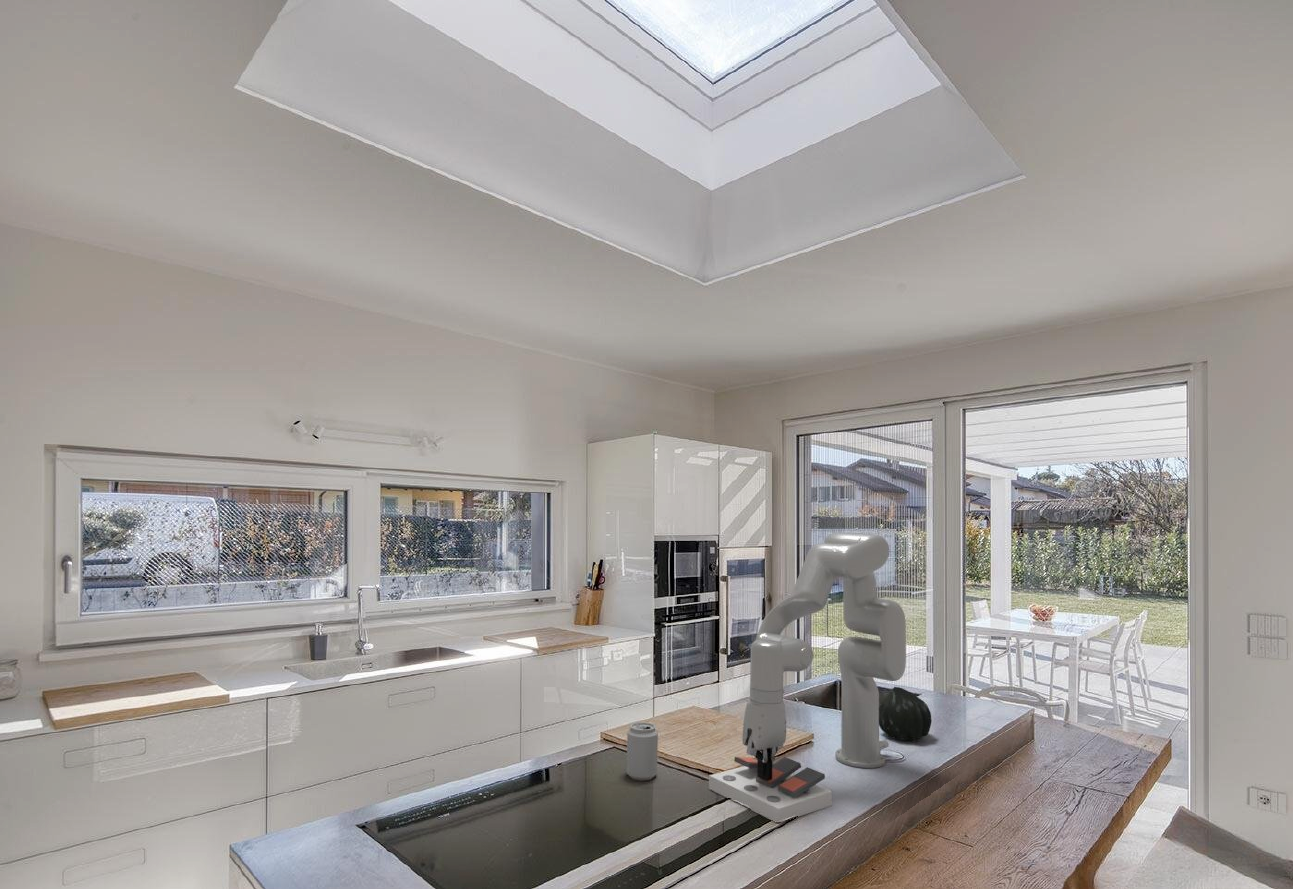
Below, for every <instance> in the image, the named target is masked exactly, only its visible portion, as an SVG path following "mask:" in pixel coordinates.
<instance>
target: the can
mask: <svg viewBox="0 0 1293 889" xmlns="http://www.w3.org/2000/svg"><path fill="white" fill-rule="evenodd" d="M629 726H630V728H628V731H627V734H626V735H627V736H626V738H627V740H626V769H625V770H626V771H625V772H626V774H627V775H628V776H629V777H630V778H631V779H633V780H637V781H649V780H652V779H654V777H655V776H656V775H657V774H658V752H659V751H658V749H659V748H658V747H659V746H658V745H659V732H658V730H657V729H656V725H655V724H653V723H652V722H646V721H645V722H644V721H640V722H633V723H631V724H630V725H629Z"/></svg>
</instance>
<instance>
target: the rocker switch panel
mask: <svg viewBox="0 0 1293 889" xmlns="http://www.w3.org/2000/svg"><path fill="white" fill-rule="evenodd" d="M794 775H795V774H793V773H792V774H791V775H790V776H788V777H787V778H785V779H784V780H783V781H781V782H780V783H779V784H781V783H782V782H784V781H786V780H787V779H789V778H791V777H792V776H794ZM756 776H757V768H748V767H746V766H744V765H742V766H739V767H737V768H736V767H735V768H733V769H729V770H724V771H722V772H721V771H720V772H718V773H713V774H710V775H708V789H709V790H710V791H713V792H715V793H716V794H719V795H720V796H723V797H725V798H727V799H728V798H731V799H733V800H737V801H739V802H741V803H743V804H746V805H748V806H749V807H750V809H751V811H752V812H754V813H756V814H758V815H761V816H762V817H764V818H766V819H768V820H770V821H772V820H774V821H780V820H782V819H785V818H789V817H792V816H794V815H795V816H798V817H802V816H805V815H807V814H810V813H813V812H817V811H818V810H822V809H825V808H829V807H831V806H832V805H833V799H832V798H833V796H832V795H833V792H832V790H829V789H827V788H824V787H822V786H820V785H817V784H815V785H814V786H812V787H811V788H809V789H808V790H806V791H804V792H803V793H801V794H800V795H798V796H797V797H793V796H791V795H788V794H786V793H784V792H782V791H780V790H778V786H777V785H779V784H777V785H776V786H774V787H773V788H770V787H768V786H766V785H764V784H761V783H759V782H757V781H756V778H755V777H756ZM750 809H749V810H750ZM798 817H797V818H798ZM774 821H773V822H774Z"/></svg>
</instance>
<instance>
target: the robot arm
mask: <svg viewBox="0 0 1293 889" xmlns="http://www.w3.org/2000/svg"><path fill="white" fill-rule="evenodd" d="M888 543H889V542H888V541H887V540H886V539H885V537H883V536H882V535H880V534H873V533H859V532H858V533H857V532H846V531H845V532H833V533H830V534H828V535H827V536H826V537H825V538H824V542H823V543H817V544H814V545H812V546H811V547H810V548H809V550H808V552H807V555H806V557H805V559H804V562H803V564H802V566H801V569H800V572H799V574H798V577H797V579H796V581H795V584H794V587H793V590H792V591H791V593H790V594H789V595H787V596H786V597H785V598H784V599H782V600H780V601H779V602H778V603H777V604H776V605H775V606H773V608H771V609H770V610H769V612H767V614H766V615H765V616H764V618H763V620H762V621H761V622H762V623H761V625H760V627H759V629H758V632H757V635H756V637H755V640H754V641H753V642H751V645H750V671H749V672H750V675H749V683H750V684H749V701H747V702H746V705H745V706H746V707H745V710H744V716H743V725H742V745H743V746H746V747H747V748H746V754H747V755H749V756H751V757H752V756H753V757H754V758H756V759H757V760H758V763H757V776H758V777H759V778H761V779H763V780H765V781H768V780H772V768H773V762H774V761H775V760H776V754H777V753H778V751H780V750H782V749H783V748H784V744H785V743H786V740H787V715H786V706H785V702H784V693H785V690H784V673H785V672H792V673H794V672H795V673H797V672H798V673H799V672H802V671H804V670H807V669H808V668H809V667H810V666H811V664H812V662H813V659H814V652H813V649H812V646H811V645H810V643H808V641H807V642H806V641H805V640H803V639H800V638H796V637H791V636H787V635H782V632H783V631H784V630H785V628H786V627H787V626H789V624H791V623H792V622H793V621H796V620H798V619H800V618H803V617H807V616H809V615H810V616H811V615H813V614H815V613H818V612H820V611H822V610H823V609H824V608H825V607H826V604H827V602H828V599H829V596H830V593H831V591H832V588H833V586H834V583H835V581H836V579H842V585H843V586H842V588H843V589H842V590H843V592H842V593H843V595H842V596H843V601H842V602H843V622H844V625H845V626H846V628H847V629H848V630H850V631H852V632H856V633H860V634H865V635H871V636H876V637H879V639H880V640H878V639H873V638H866V637H862V636H861V637H860V636H849V637H846V638H845V639H843V640H841V642H840V644H839V646H838V648H837V659H838V666H839V670H840V679H841V682H840V683H841V731H840V732H841V736H840V737H841V744H840V746H841V748H839V749H837V750H836V751H835V758H836V760H837V761H839V762H840V763H842V764H844V765H847V766H852V767H854V768H855V767H856V768H863V769H866V768H867V769H874V768H879V767H880V768H881V767H882V766H884V765H885V763H886V757H885V756H884V754H882V753H881V752H882V750H883V749H887V748H888V747H889V744H890V743H889V742H888V740H886V739H884V740H881V741H880V726H879V707H880V693H879V688H878V685H877V684H876V681H875V679H879V680H884V681H890V682H896V681H899V680H901V679H902V678H903V676H904V674H905V672H906V666H907V629H906V628H907V624H906V616H905V612H904V610H903V608H902V606H901V605H900V603H898V602H896V601H894V600H890V599H886V598H878V594H877V579H876V576H875V572H876V571H877V570H879V569H881V568H882V567H883V566H885V564H886V563H887V561H888V559H889V556H890V545H889V544H888Z"/></svg>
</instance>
